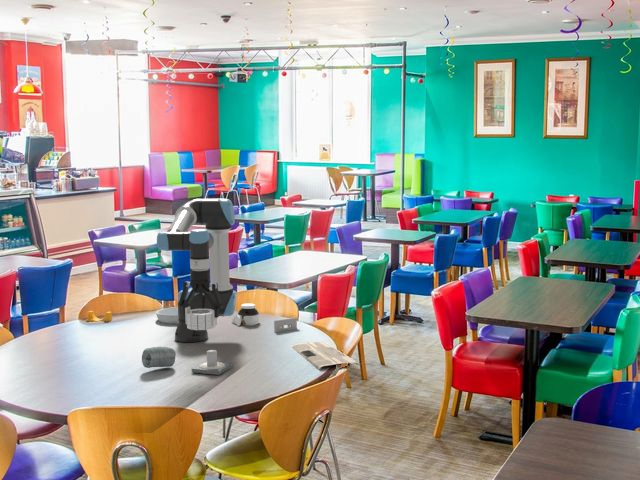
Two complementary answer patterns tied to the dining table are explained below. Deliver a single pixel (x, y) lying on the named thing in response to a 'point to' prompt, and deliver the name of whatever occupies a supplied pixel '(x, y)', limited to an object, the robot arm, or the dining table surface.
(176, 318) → the serving bowl
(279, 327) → the cassette
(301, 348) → the newspaper
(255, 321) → the spread jar
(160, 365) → the spool
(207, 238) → the robot arm
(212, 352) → the post block
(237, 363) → the dining table surface
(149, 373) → the dining table surface
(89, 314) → the pipe clamp
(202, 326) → the ring
